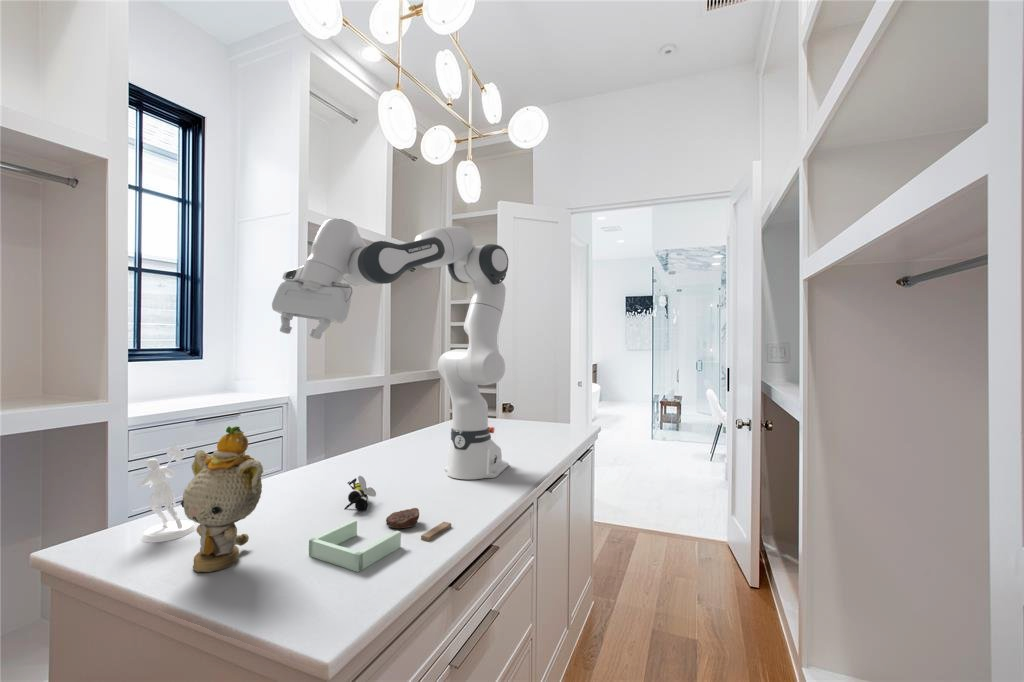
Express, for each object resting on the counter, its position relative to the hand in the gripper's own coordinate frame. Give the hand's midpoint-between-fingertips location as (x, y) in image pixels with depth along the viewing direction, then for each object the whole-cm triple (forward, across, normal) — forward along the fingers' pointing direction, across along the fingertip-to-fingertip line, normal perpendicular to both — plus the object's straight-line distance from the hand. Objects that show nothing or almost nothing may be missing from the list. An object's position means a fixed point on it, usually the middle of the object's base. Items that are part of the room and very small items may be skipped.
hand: (299, 335), depth 100 cm
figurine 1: (+47, +15, 0) cm, 50 cm away
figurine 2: (+46, -8, +5) cm, 47 cm away
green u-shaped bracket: (+39, -28, -6) cm, 49 cm away
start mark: (+34, -38, -18) cm, 54 cm away
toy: (+35, -11, -26) cm, 45 cm away
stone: (+35, -29, -19) cm, 50 cm away
